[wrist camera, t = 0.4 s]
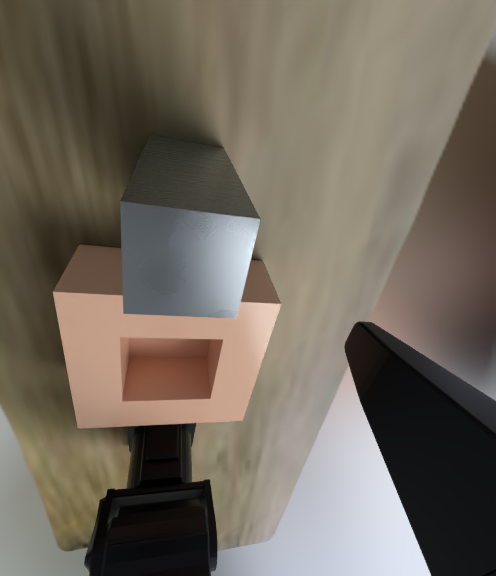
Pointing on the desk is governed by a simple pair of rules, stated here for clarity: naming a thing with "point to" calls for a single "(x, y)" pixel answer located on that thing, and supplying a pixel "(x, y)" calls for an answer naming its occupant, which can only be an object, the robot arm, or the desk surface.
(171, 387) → the well
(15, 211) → the desk surface
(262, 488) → the desk surface
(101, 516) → the robot arm
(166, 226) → the grey rectangular block
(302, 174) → the desk surface
